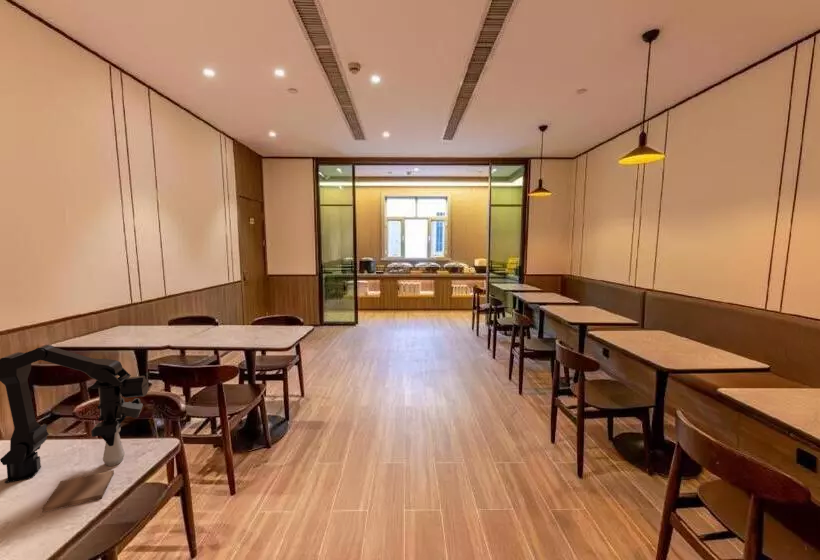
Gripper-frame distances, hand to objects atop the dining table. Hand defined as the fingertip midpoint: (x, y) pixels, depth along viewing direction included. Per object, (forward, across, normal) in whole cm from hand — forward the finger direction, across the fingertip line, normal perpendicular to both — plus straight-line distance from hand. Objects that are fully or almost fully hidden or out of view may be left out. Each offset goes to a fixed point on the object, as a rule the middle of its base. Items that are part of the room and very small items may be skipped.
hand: (113, 443), depth 123 cm
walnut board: (+7, -14, +5) cm, 16 cm away
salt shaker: (+7, 0, 0) cm, 7 cm away
